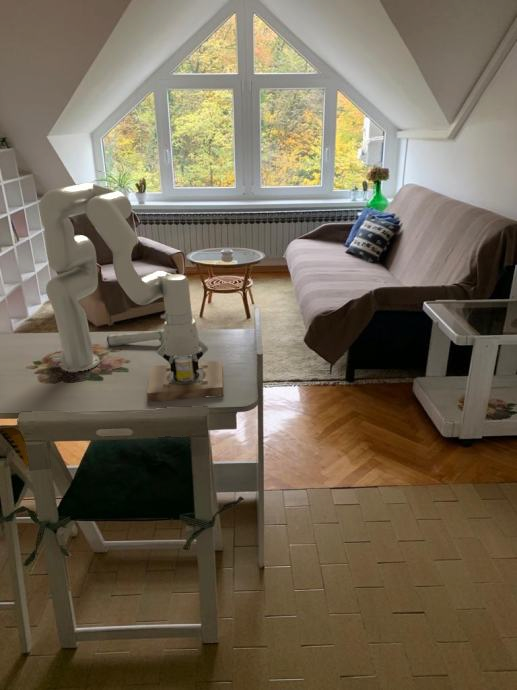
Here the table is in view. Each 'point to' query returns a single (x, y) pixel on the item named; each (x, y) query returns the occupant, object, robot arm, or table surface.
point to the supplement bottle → (184, 368)
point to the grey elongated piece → (135, 337)
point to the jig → (185, 383)
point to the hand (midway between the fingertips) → (185, 372)
